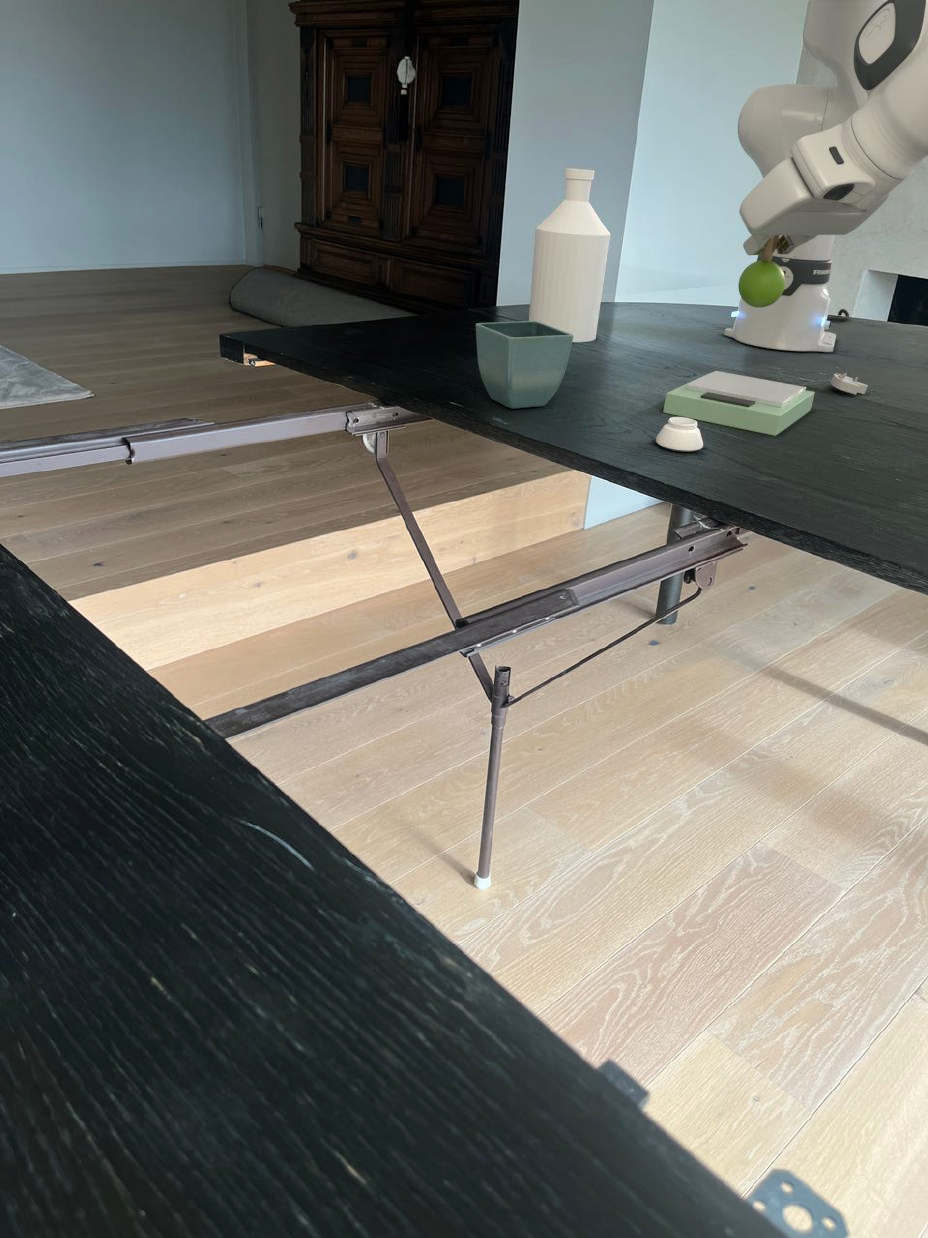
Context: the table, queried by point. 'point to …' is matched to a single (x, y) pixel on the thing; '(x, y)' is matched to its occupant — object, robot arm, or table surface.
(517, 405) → the flower pot
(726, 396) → the scale
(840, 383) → the game controller
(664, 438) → the lidless jar
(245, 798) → the table surface
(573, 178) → the bottle
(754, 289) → the snail figurine
